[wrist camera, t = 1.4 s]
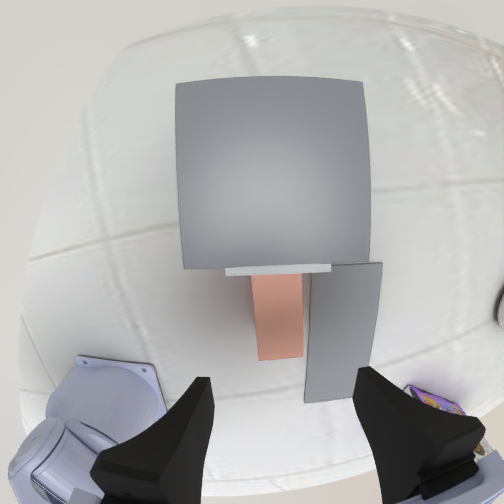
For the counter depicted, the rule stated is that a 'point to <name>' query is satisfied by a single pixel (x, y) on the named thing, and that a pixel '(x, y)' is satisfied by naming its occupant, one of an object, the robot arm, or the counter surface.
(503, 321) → the plastic bottle
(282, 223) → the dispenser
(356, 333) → the pad
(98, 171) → the counter surface
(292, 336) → the tall peach block
